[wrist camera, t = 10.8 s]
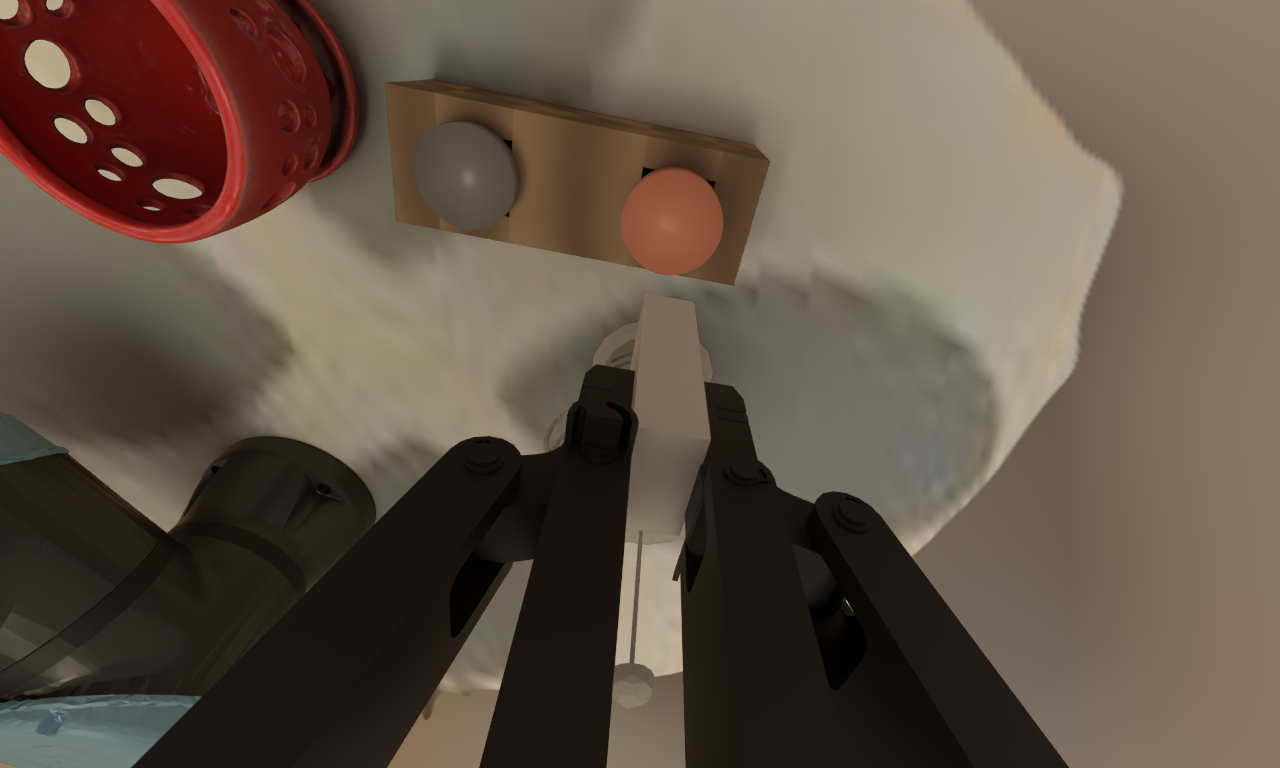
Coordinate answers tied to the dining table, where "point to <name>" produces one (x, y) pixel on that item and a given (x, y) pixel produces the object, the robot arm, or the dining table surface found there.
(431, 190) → the charcoal plug
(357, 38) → the dining table surface
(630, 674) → the french press
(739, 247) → the socket block
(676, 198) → the red plug
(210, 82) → the plant pot
